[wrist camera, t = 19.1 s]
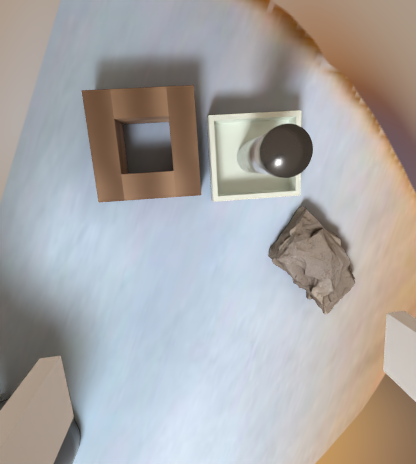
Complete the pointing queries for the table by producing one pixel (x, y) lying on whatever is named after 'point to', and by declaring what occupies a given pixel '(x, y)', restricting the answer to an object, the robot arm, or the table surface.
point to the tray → (225, 156)
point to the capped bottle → (277, 152)
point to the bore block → (113, 147)
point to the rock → (313, 259)
